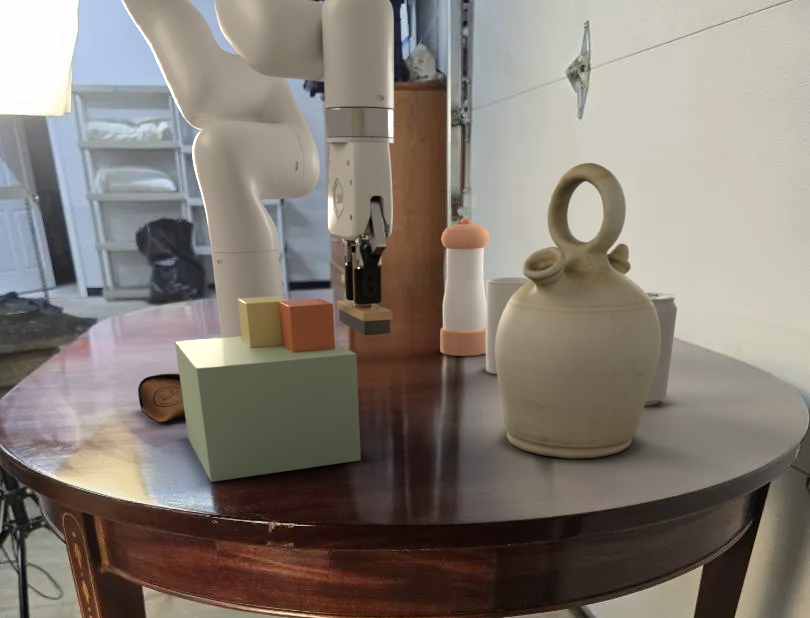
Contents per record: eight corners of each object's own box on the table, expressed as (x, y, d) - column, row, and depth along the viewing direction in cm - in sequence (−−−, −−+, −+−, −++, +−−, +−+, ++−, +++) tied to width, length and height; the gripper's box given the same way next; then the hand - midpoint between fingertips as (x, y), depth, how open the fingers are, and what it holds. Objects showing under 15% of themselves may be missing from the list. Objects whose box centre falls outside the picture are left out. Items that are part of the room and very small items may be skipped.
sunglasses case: (161, 421, 84) (143, 363, 84) (149, 440, 90) (133, 386, 90) (309, 397, 93) (293, 344, 93) (289, 415, 99) (274, 366, 99)
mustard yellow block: (241, 341, 75) (237, 298, 73) (282, 337, 76) (278, 295, 75) (250, 348, 72) (246, 303, 70) (292, 344, 73) (289, 300, 71)
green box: (186, 435, 81) (172, 338, 77) (314, 419, 86) (308, 327, 82) (211, 482, 68) (196, 368, 64) (361, 460, 73) (356, 353, 69)
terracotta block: (282, 345, 73) (278, 301, 71) (322, 341, 74) (320, 298, 72) (293, 352, 69) (289, 306, 68) (335, 348, 71) (333, 303, 69)
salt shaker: (497, 352, 119) (501, 217, 111) (459, 358, 115) (461, 219, 107) (467, 345, 124) (469, 216, 116) (431, 350, 121) (430, 218, 113)
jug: (546, 475, 68) (567, 160, 58) (465, 430, 81) (469, 166, 71) (683, 451, 74) (724, 159, 63) (586, 413, 86) (607, 165, 76)
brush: (337, 321, 98) (334, 249, 94) (364, 319, 99) (362, 248, 95) (363, 335, 90) (362, 257, 86) (392, 333, 91) (392, 256, 87)
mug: (502, 378, 103) (506, 284, 98) (474, 369, 108) (476, 279, 103) (561, 369, 107) (568, 278, 102) (532, 361, 112) (536, 274, 107)
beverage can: (666, 395, 93) (679, 291, 88) (664, 409, 87) (677, 299, 82) (612, 392, 95) (621, 290, 90) (606, 405, 89) (616, 297, 84)
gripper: (307, 131, 91) (314, 294, 99) (351, 125, 77) (355, 314, 85) (367, 132, 93) (369, 291, 101) (420, 126, 80) (418, 310, 88)
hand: (363, 300), depth 93 cm, fingers closed on brush, 2 cm apart
